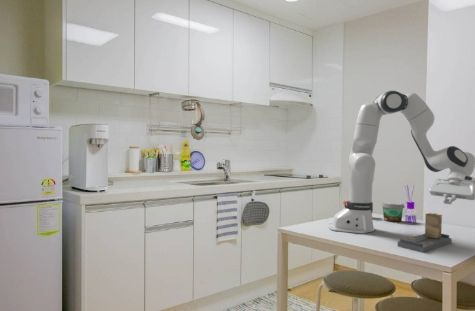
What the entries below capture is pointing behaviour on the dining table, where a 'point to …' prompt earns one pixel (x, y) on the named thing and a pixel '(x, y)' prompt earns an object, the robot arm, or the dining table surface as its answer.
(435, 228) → the fader knob
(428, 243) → the fader track
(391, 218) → the food container
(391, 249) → the dining table surface
